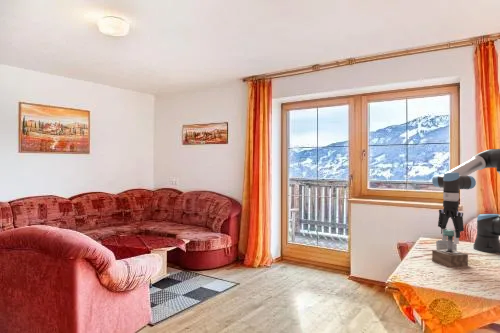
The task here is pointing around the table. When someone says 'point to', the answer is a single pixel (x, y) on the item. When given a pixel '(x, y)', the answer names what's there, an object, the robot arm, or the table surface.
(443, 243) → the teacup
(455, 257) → the block
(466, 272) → the table surface
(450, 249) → the teal rounded knob
